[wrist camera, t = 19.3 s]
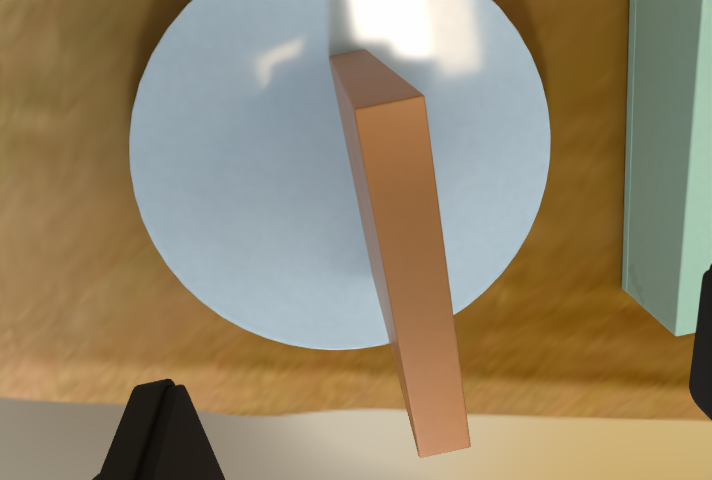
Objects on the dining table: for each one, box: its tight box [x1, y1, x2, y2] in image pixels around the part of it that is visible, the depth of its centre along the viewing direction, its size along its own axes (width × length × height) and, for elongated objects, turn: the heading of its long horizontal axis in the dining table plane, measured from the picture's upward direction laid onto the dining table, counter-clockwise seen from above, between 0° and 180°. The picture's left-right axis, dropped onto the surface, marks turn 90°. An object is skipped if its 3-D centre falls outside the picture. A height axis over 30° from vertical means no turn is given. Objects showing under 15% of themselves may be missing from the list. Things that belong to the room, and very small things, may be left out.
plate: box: [129, 0, 551, 350], centre depth 24 cm, size 18×18×1 cm
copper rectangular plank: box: [329, 49, 470, 458], centre depth 18 cm, size 2×10×11 cm, turn 11°
